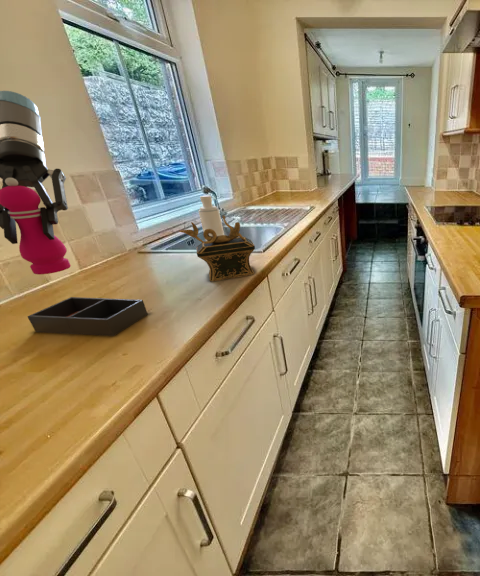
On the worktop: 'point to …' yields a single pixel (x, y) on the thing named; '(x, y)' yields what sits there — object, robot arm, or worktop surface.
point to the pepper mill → (33, 229)
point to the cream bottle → (210, 216)
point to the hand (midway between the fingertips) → (30, 238)
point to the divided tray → (88, 316)
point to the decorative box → (224, 252)
